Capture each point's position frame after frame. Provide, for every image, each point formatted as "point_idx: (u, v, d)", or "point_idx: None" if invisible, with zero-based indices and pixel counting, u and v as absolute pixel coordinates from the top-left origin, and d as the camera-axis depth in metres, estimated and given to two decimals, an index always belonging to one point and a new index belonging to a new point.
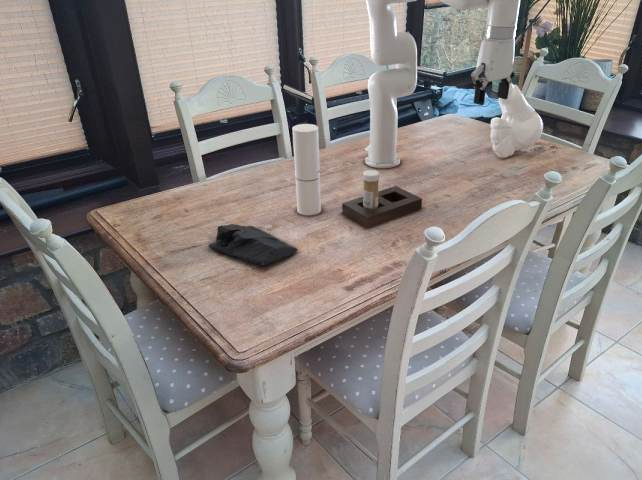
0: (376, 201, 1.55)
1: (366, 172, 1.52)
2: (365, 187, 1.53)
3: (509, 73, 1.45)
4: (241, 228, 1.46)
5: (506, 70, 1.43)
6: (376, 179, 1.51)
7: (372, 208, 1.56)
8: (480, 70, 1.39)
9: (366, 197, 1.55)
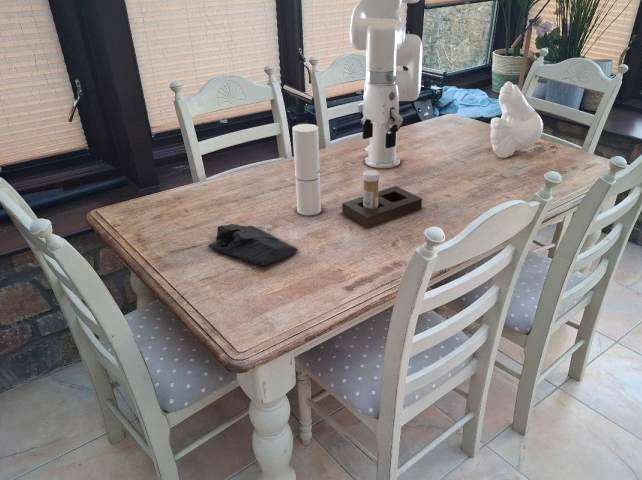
0: (376, 201, 1.55)
1: (366, 172, 1.52)
2: (365, 187, 1.53)
3: (382, 120, 1.40)
4: (241, 228, 1.46)
5: (377, 115, 1.40)
6: (376, 179, 1.51)
7: (372, 208, 1.56)
8: (362, 104, 1.47)
9: (366, 197, 1.55)
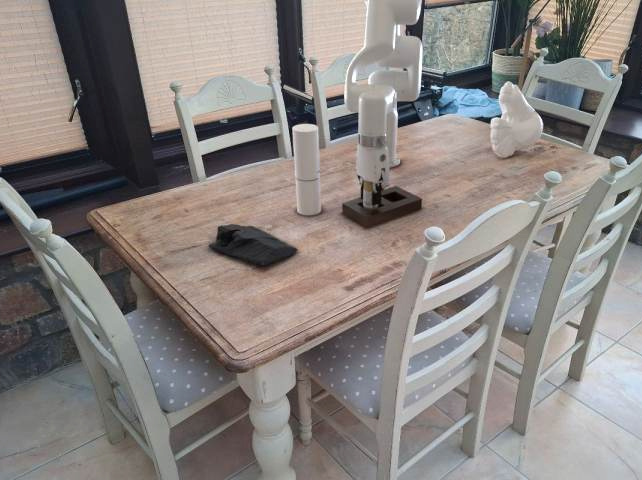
0: None
1: None
2: (365, 187, 1.53)
3: (373, 180, 1.49)
4: (241, 228, 1.46)
5: (369, 174, 1.49)
6: None
7: (372, 208, 1.56)
8: None
9: (366, 197, 1.55)
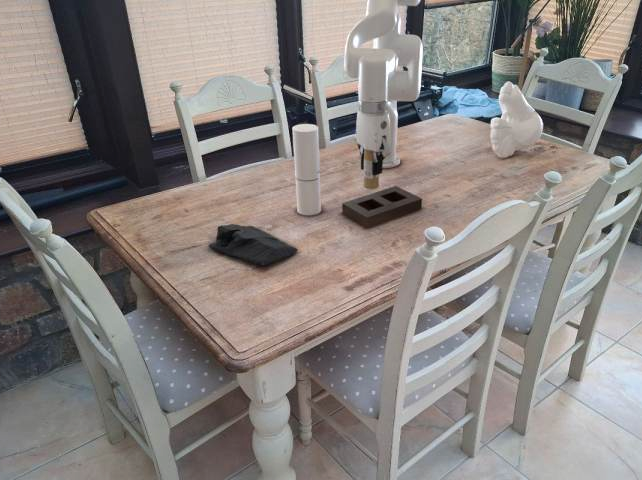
0: None
1: None
2: (365, 156, 1.49)
3: (374, 148, 1.44)
4: (241, 228, 1.46)
5: (370, 142, 1.45)
6: None
7: (373, 178, 1.51)
8: None
9: (366, 167, 1.50)
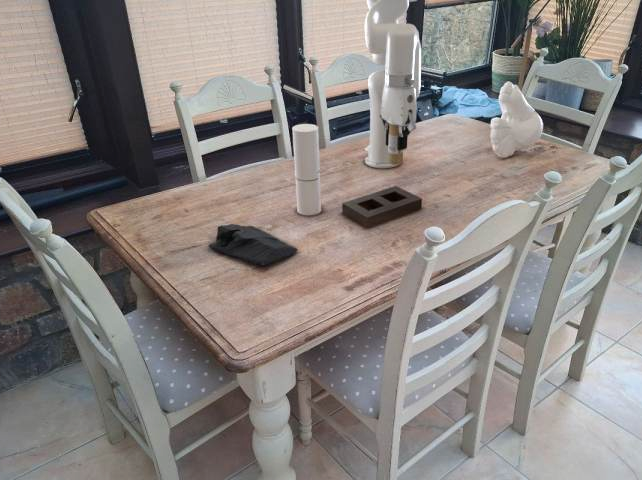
0: None
1: None
2: (391, 131, 1.50)
3: (400, 122, 1.46)
4: (241, 228, 1.46)
5: (396, 117, 1.46)
6: None
7: (397, 154, 1.53)
8: None
9: (391, 142, 1.51)
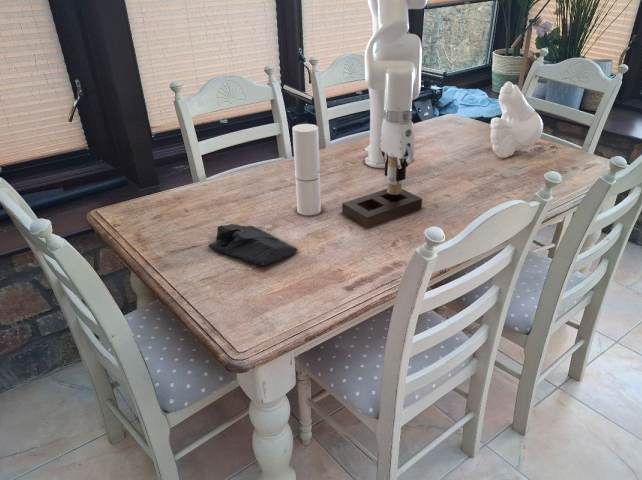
0: None
1: None
2: (390, 163, 1.55)
3: (399, 155, 1.51)
4: (241, 228, 1.46)
5: (394, 150, 1.51)
6: None
7: (396, 184, 1.58)
8: None
9: (390, 173, 1.56)
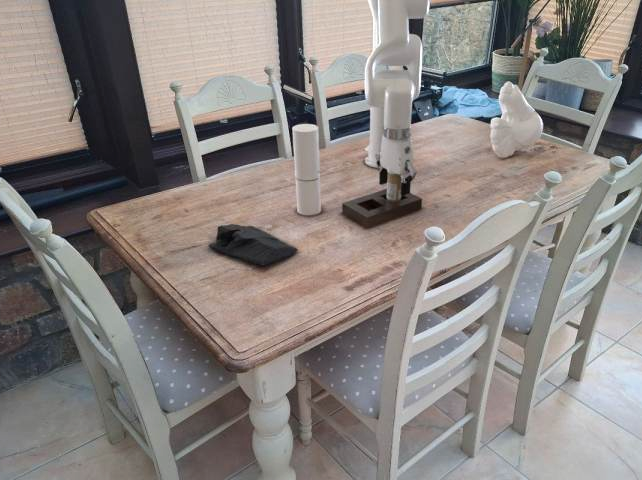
0: (399, 193, 1.60)
1: None
2: (389, 179, 1.58)
3: (398, 171, 1.53)
4: (241, 228, 1.46)
5: (394, 166, 1.54)
6: None
7: (395, 200, 1.61)
8: (379, 154, 1.60)
9: (389, 189, 1.59)
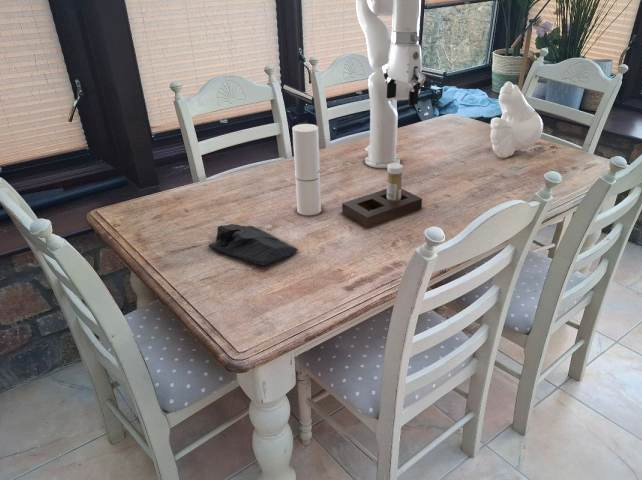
0: (399, 193, 1.60)
1: (390, 165, 1.57)
2: (389, 179, 1.58)
3: (406, 79, 1.52)
4: (241, 228, 1.46)
5: (402, 74, 1.52)
6: (400, 172, 1.56)
7: (395, 200, 1.61)
8: (387, 65, 1.58)
9: (389, 189, 1.59)
